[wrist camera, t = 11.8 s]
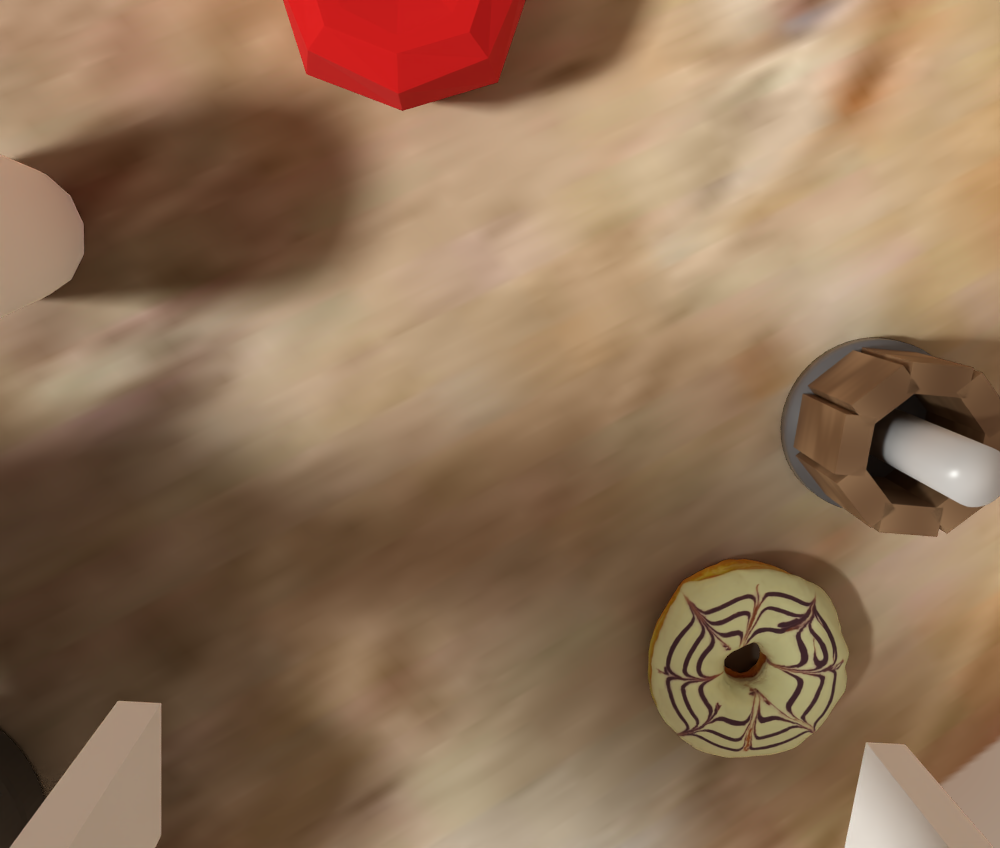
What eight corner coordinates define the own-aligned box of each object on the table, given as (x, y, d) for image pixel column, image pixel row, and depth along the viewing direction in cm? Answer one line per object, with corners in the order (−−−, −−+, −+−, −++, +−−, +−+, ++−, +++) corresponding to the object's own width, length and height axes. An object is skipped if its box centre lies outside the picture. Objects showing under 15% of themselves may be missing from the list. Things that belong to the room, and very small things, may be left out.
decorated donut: (833, 549, 46) (866, 576, 43) (819, 725, 49) (848, 765, 45) (644, 554, 46) (660, 582, 42) (639, 731, 48) (654, 773, 44)
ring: (811, 342, 42) (856, 357, 37) (965, 356, 43) (1029, 372, 38) (784, 495, 44) (824, 528, 39) (933, 507, 45) (990, 540, 40)
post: (768, 498, 45) (852, 572, 35) (795, 330, 43) (892, 359, 33) (931, 510, 46) (1057, 586, 36) (965, 345, 44) (1109, 377, 34)
